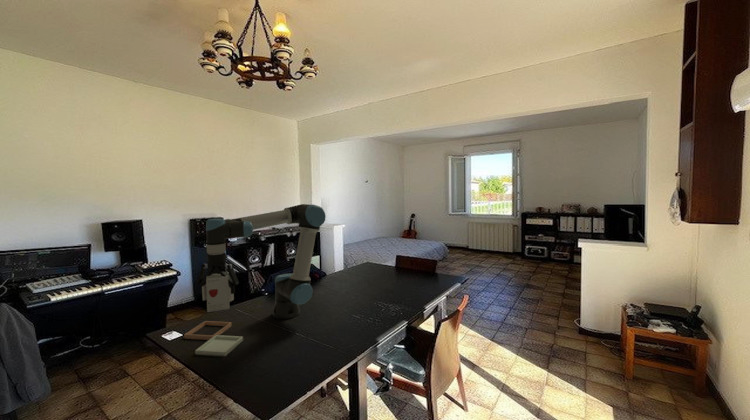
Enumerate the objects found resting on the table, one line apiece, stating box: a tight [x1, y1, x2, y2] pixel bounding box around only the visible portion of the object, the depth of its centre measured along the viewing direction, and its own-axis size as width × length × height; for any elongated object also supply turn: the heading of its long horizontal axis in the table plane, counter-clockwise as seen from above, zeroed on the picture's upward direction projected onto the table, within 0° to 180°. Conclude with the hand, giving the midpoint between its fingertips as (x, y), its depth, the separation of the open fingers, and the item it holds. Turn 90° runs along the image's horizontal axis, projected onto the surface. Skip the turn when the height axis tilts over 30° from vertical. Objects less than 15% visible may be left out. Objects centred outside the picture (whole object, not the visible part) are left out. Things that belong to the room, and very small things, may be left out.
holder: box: [183, 320, 232, 341], centre depth 152 cm, size 15×15×2 cm
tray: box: [194, 334, 244, 357], centre depth 137 cm, size 14×14×2 cm
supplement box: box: [205, 271, 230, 313], centre depth 135 cm, size 9×9×15 cm
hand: (218, 300), depth 136 cm, fingers closed on supplement box, 12 cm apart
